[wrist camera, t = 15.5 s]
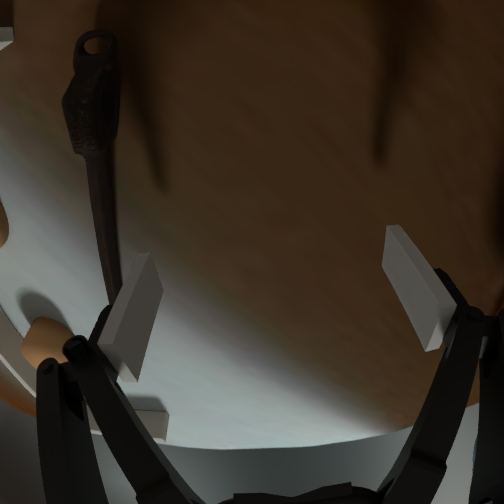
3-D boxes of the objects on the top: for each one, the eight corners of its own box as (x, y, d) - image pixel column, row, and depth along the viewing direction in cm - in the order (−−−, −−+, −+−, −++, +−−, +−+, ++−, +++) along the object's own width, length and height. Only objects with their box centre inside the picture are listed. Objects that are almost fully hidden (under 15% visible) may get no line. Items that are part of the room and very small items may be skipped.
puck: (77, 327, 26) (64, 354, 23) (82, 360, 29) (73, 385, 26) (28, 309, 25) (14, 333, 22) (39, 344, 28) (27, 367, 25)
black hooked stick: (97, 343, 30) (62, 35, 12) (140, 350, 31) (136, 30, 13) (86, 383, 26) (14, 40, 8) (133, 391, 27) (103, 27, 9)
